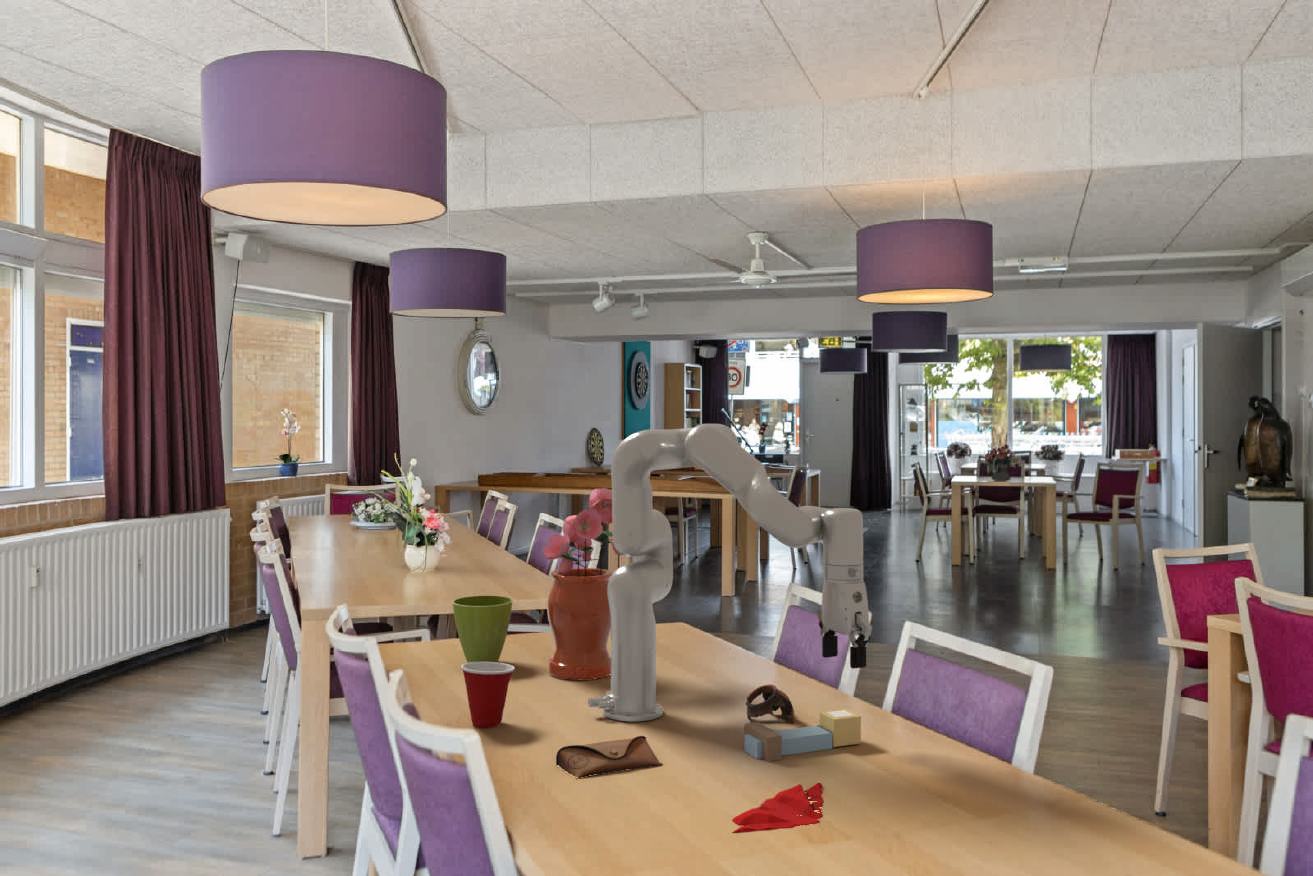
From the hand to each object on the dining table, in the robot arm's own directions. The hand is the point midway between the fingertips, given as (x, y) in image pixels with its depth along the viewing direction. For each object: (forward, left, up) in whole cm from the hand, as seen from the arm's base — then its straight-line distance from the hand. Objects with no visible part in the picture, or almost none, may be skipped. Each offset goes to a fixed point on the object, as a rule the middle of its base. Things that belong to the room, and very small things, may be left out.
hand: (843, 662), depth 193 cm
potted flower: (-29, +68, -16) cm, 76 cm away
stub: (-1, 0, -16) cm, 16 cm away
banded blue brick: (-12, 0, -16) cm, 20 cm away
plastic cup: (-61, +36, -16) cm, 73 cm away
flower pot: (-51, +86, -16) cm, 101 cm away
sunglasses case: (-46, +4, -16) cm, 49 cm away
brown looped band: (-5, +19, -16) cm, 25 cm away
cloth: (-27, -25, -17) cm, 41 cm away
